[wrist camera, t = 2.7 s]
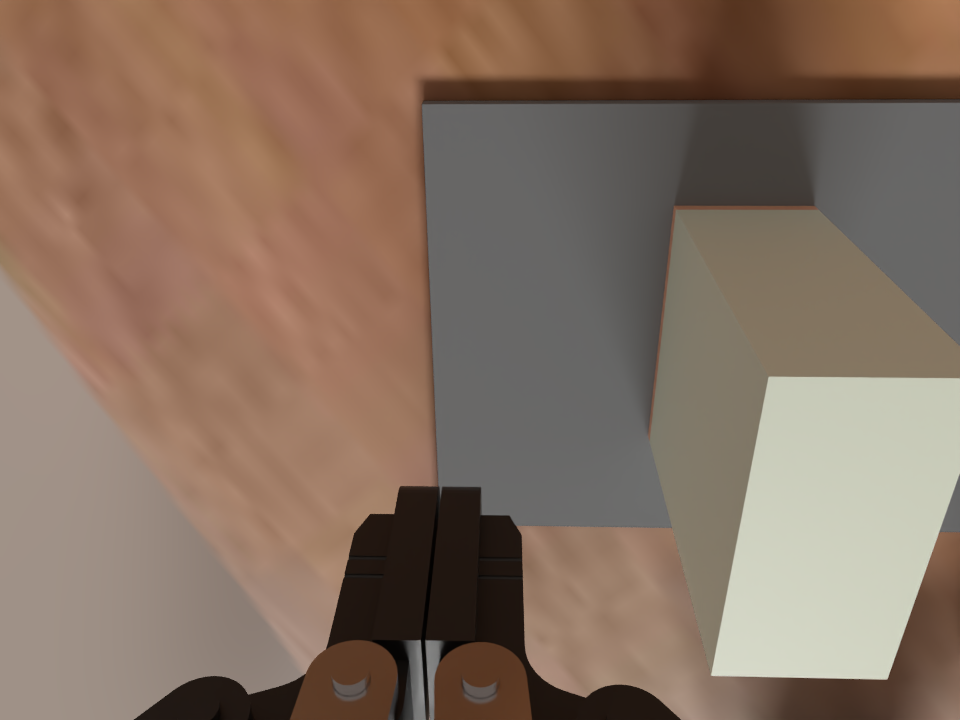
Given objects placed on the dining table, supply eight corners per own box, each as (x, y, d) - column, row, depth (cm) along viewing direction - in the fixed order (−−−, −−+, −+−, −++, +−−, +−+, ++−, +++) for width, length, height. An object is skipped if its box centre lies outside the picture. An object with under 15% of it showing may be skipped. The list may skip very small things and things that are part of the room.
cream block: (814, 205, 20) (993, 378, 13) (768, 437, 23) (887, 679, 16) (673, 205, 20) (768, 376, 13) (648, 435, 24) (710, 675, 16)
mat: (1359, 98, 19) (1375, 101, 18) (1141, 526, 25) (1150, 534, 25) (423, 100, 20) (421, 104, 19) (440, 516, 26) (440, 524, 26)
